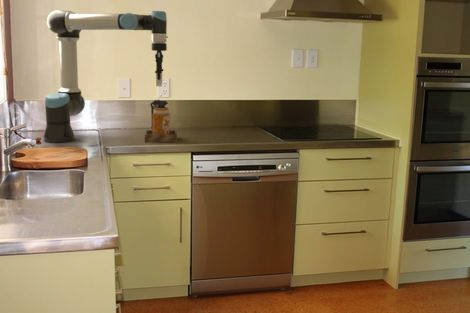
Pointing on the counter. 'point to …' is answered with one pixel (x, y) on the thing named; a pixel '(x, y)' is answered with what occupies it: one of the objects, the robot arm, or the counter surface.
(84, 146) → the counter surface
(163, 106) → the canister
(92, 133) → the counter surface
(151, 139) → the cradle
